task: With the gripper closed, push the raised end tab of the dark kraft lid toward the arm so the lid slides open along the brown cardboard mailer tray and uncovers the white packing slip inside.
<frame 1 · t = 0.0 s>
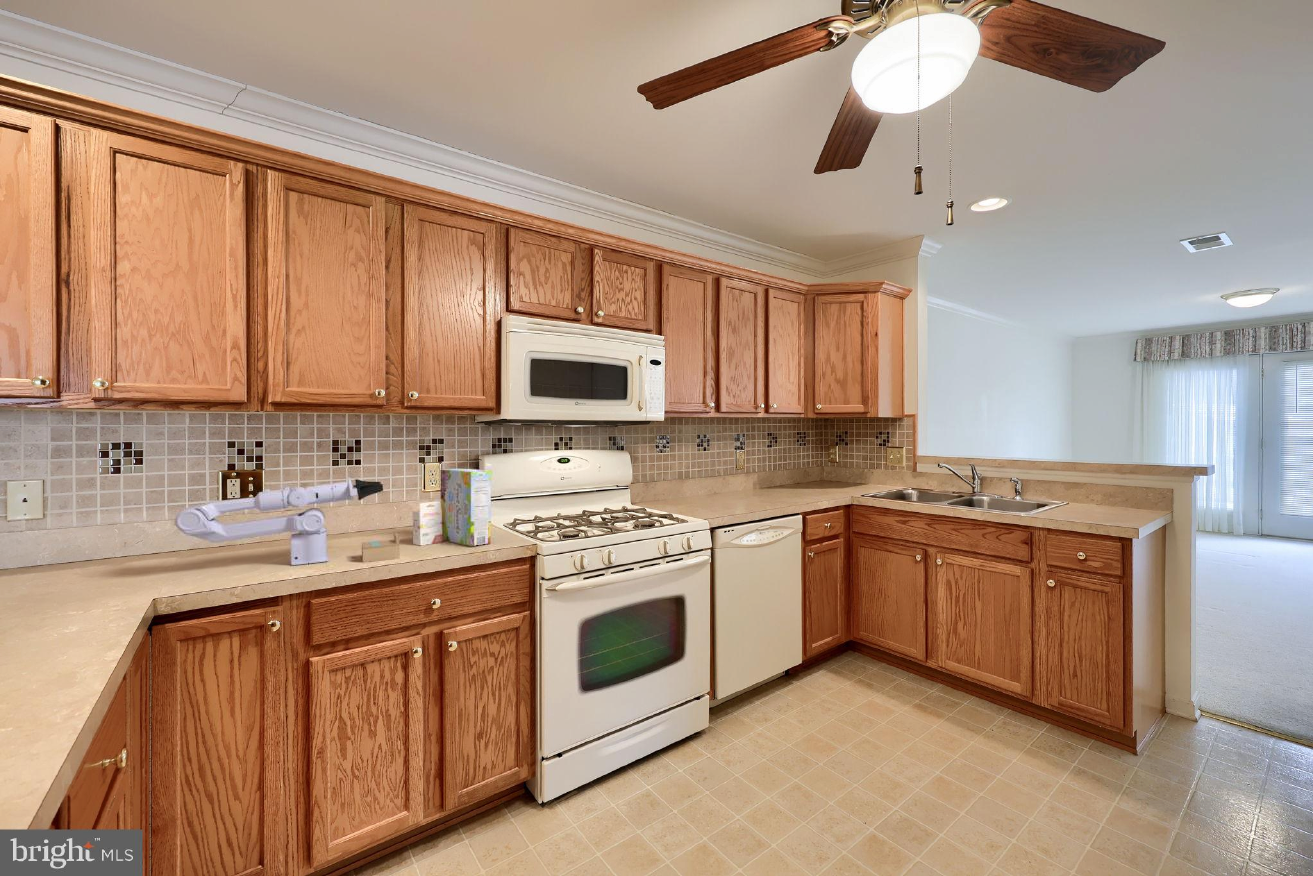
hand: (381, 486, 180), 22 cm above the worktop, tool horizontal, fingers open, 7 cm apart
snack box: (465, 542, 199), on the worktop
mailer tray: (380, 557, 174), on the worktop
ink cartridge box: (427, 543, 196), on the worktop
mailer lid: (380, 540, 174), point 5 cm above the worktop, slide at 0.0 cm
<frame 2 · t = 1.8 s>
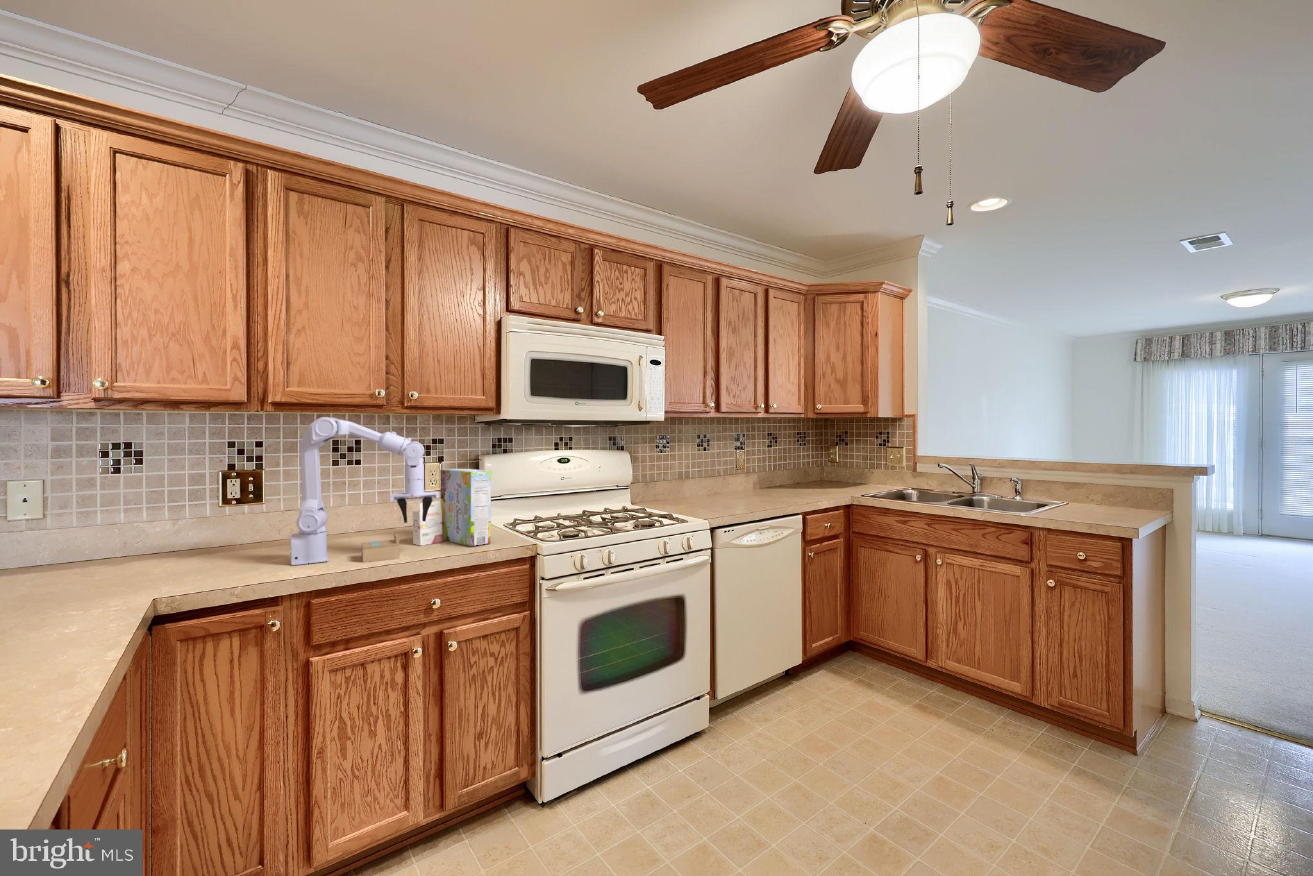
hand: (414, 521, 179), 10 cm above the worktop, tool pointing down, fingers open, 5 cm apart
nothing on the worktop moved.
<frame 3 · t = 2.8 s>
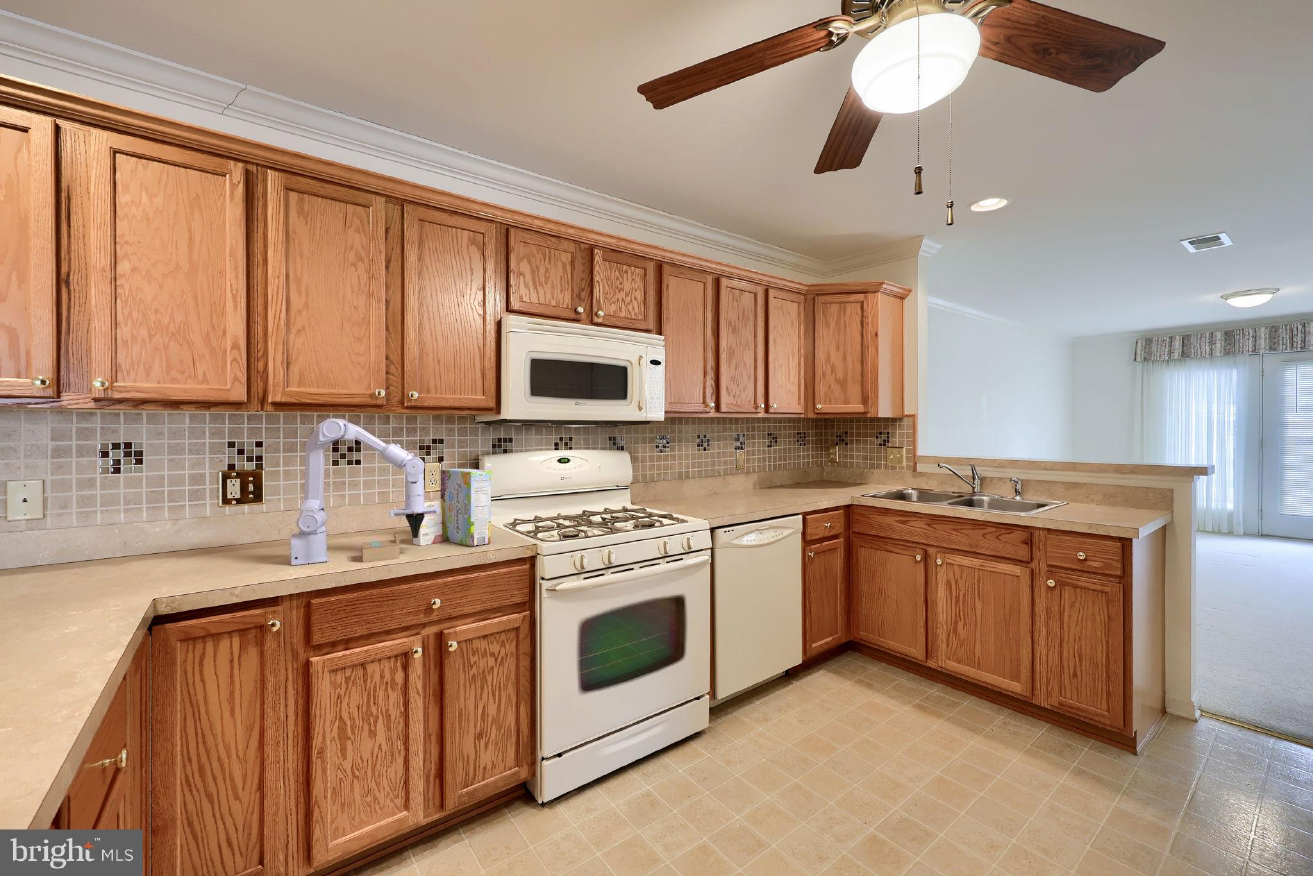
hand: (415, 537, 179), 5 cm above the worktop, tool pointing down, fingers closed
nothing on the worktop moved.
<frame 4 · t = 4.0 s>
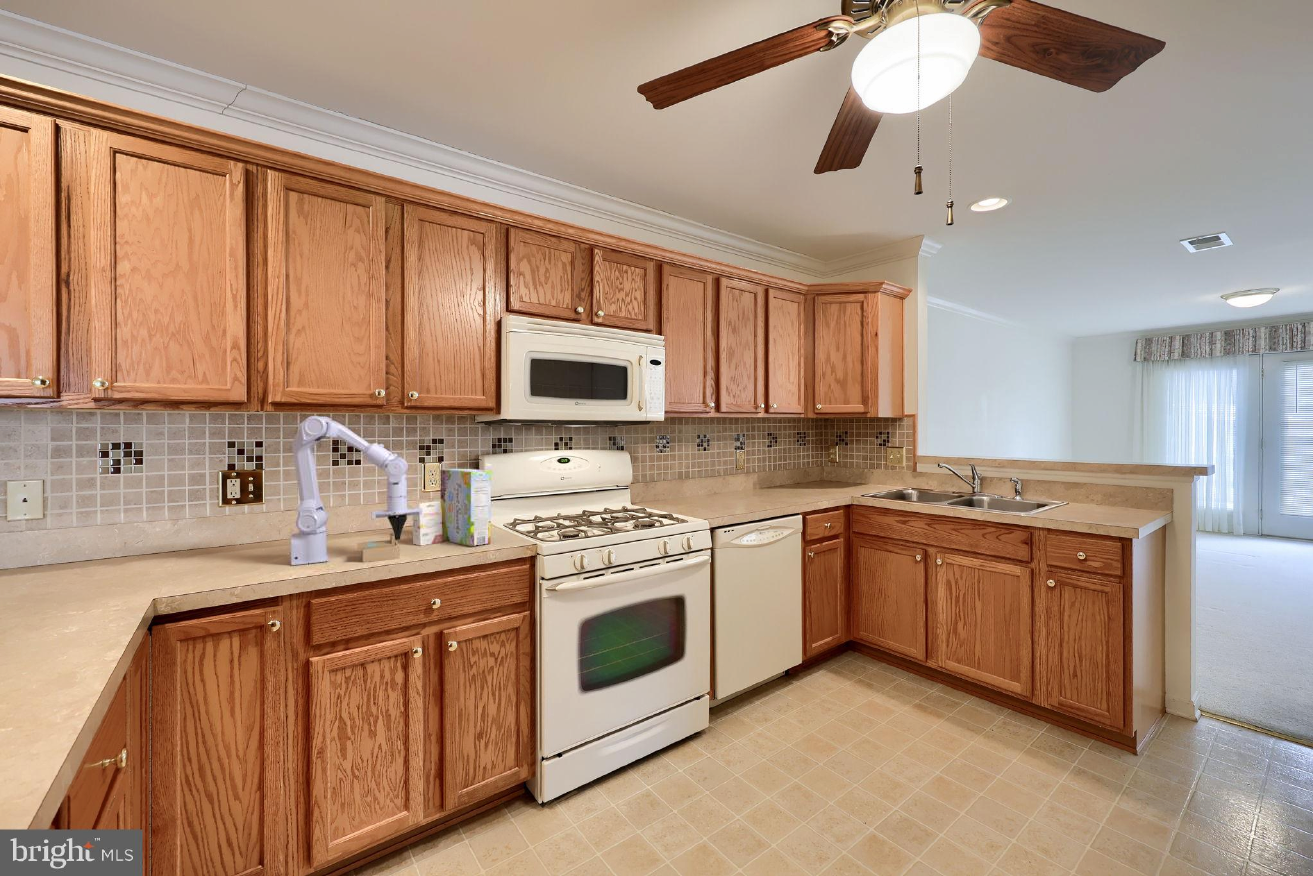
hand: (397, 539, 177), 5 cm above the worktop, tool pointing down, fingers closed
mailer lid: (376, 541, 174), point 5 cm above the worktop, slide at 1.2 cm, touching gripper
everything else where it was.
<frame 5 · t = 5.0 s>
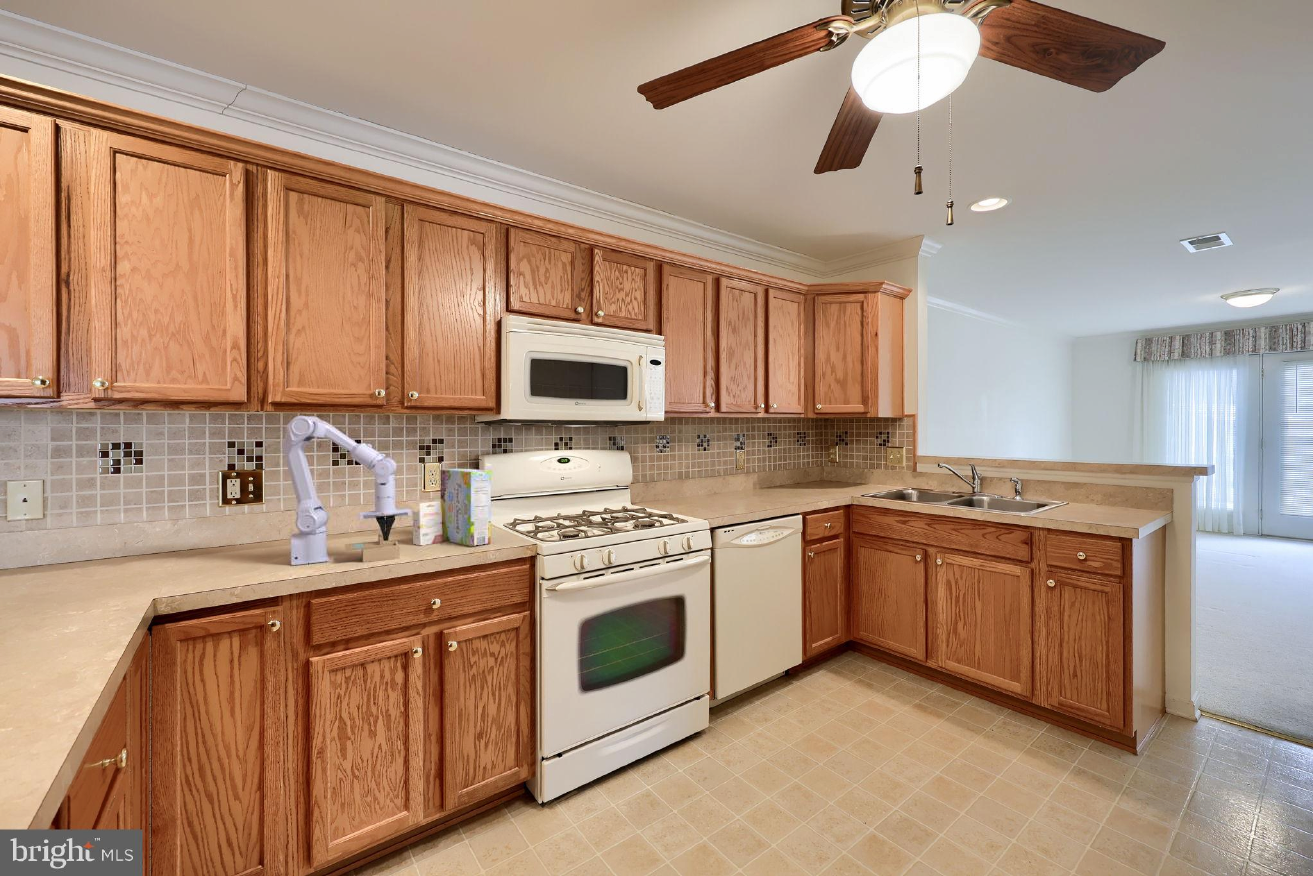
hand: (385, 540, 175), 5 cm above the worktop, tool pointing down, fingers closed
mailer lid: (363, 542, 172), point 5 cm above the worktop, slide at 4.6 cm, touching gripper
everything else where it was.
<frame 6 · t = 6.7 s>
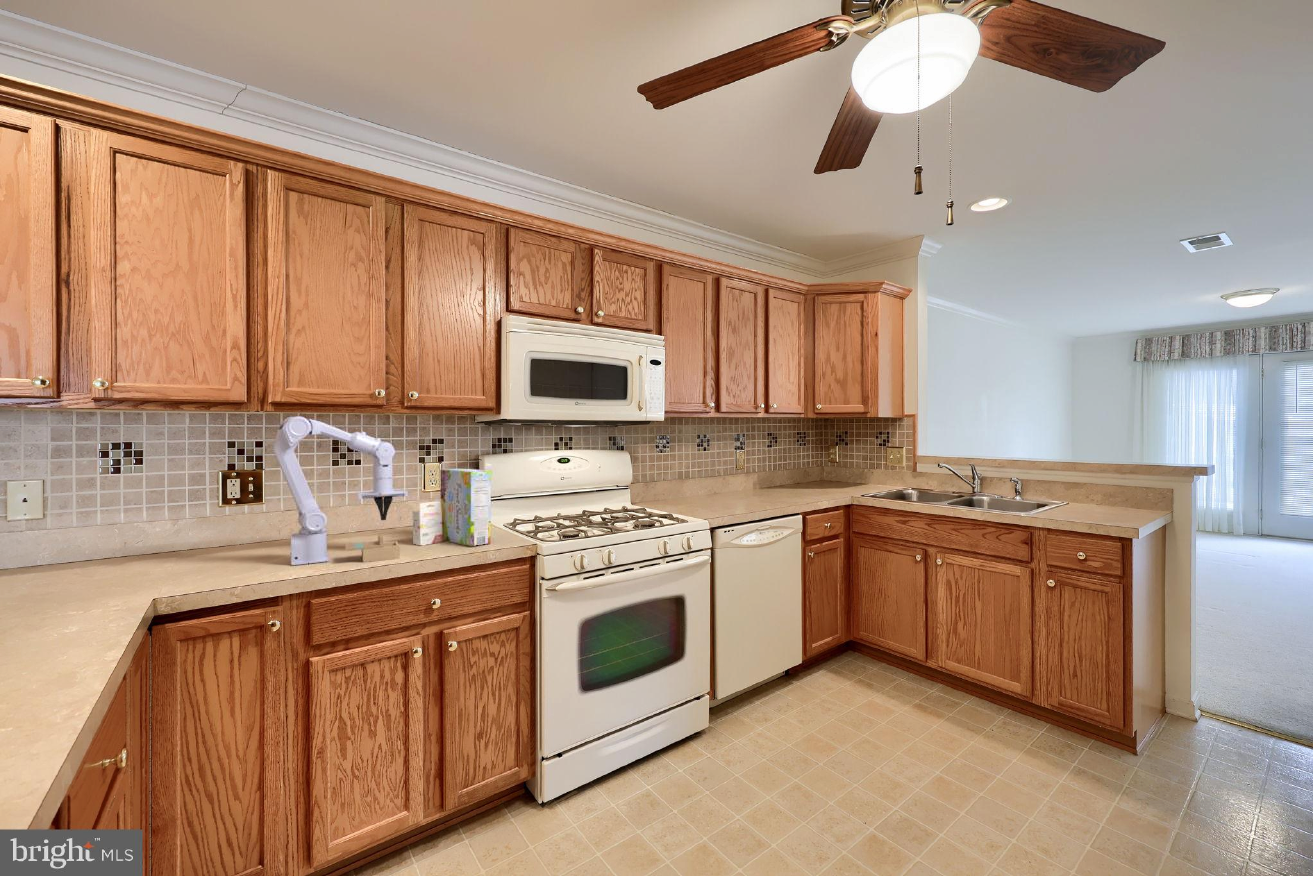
hand: (383, 519, 183), 10 cm above the worktop, tool pointing down, fingers closed
mailer lid: (363, 542, 172), point 5 cm above the worktop, slide at 4.6 cm
everything else where it was.
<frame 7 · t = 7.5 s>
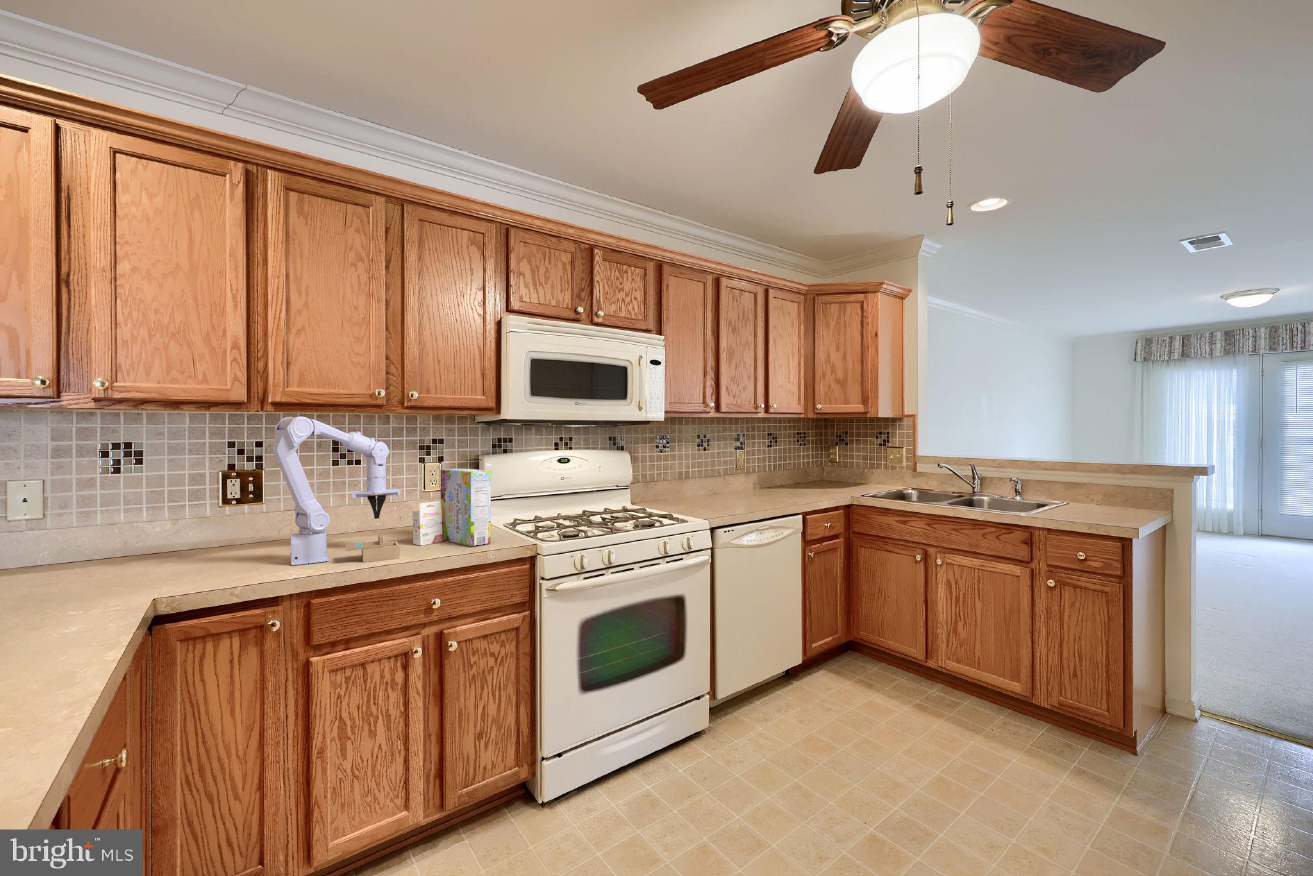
hand: (376, 518, 186), 10 cm above the worktop, tool pointing down, fingers closed
nothing on the worktop moved.
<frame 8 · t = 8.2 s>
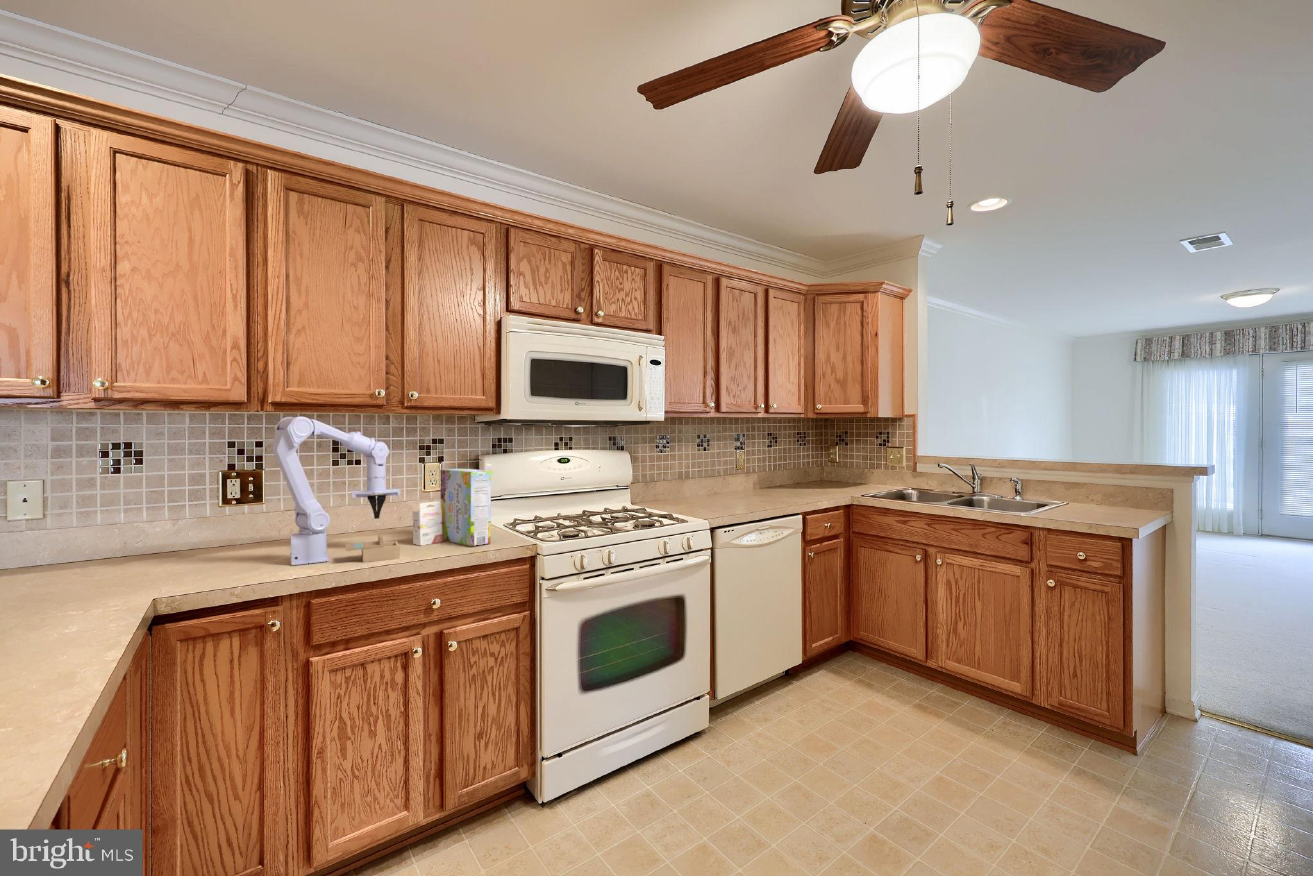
hand: (376, 518, 186), 10 cm above the worktop, tool pointing down, fingers closed
nothing on the worktop moved.
at the end: mailer lid slide at 4.6 cm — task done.
